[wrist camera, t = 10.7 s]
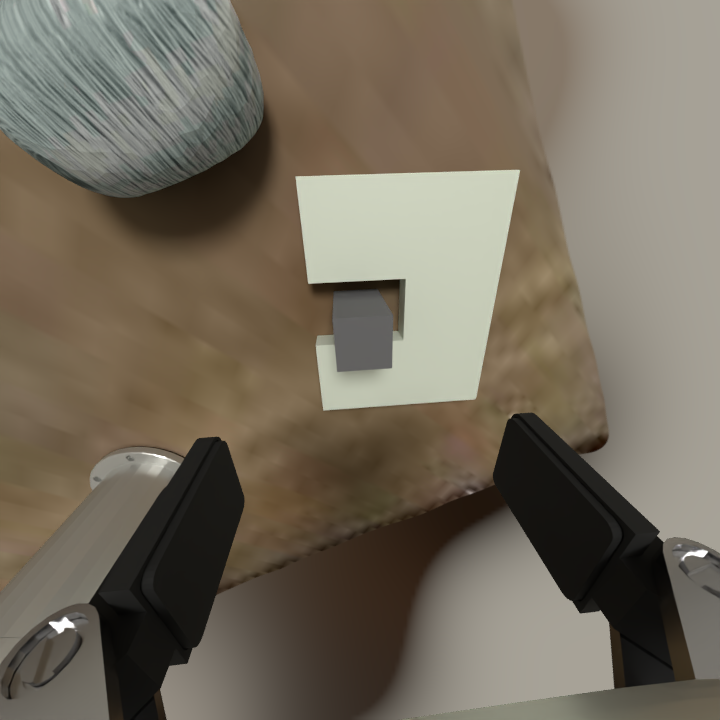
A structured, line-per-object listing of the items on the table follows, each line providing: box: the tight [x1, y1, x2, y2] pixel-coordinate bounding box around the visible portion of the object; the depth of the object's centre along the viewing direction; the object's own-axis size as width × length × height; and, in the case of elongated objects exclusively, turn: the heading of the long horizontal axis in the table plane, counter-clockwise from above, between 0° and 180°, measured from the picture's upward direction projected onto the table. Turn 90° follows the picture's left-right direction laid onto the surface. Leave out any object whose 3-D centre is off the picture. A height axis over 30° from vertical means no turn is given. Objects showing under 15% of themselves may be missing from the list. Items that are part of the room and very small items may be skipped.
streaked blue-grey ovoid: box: [0, 0, 264, 198], centre depth 15 cm, size 14×10×10 cm
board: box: [296, 170, 520, 410], centre depth 25 cm, size 20×16×2 cm
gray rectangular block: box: [332, 289, 393, 372], centre depth 22 cm, size 4×4×8 cm
